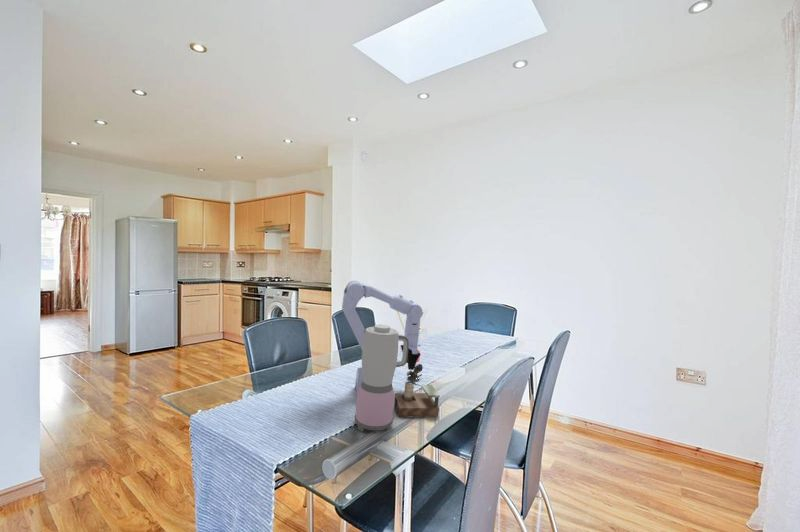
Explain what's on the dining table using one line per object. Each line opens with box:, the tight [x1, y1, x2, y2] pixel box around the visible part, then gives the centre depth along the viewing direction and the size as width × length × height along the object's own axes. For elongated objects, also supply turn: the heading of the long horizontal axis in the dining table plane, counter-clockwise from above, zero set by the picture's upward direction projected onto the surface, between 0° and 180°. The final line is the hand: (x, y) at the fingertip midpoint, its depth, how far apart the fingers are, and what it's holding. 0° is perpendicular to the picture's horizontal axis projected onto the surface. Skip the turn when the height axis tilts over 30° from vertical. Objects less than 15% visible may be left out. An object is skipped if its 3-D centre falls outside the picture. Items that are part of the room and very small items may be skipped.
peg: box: [403, 382, 415, 401], centre depth 129 cm, size 3×3×8 cm
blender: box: [354, 324, 409, 432], centre depth 113 cm, size 16×12×32 cm
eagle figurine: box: [406, 363, 424, 382], centre depth 155 cm, size 8×7×9 cm
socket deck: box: [394, 384, 440, 418], centre depth 127 cm, size 14×12×7 cm
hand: (408, 366), depth 143 cm, fingers open, 7 cm apart
